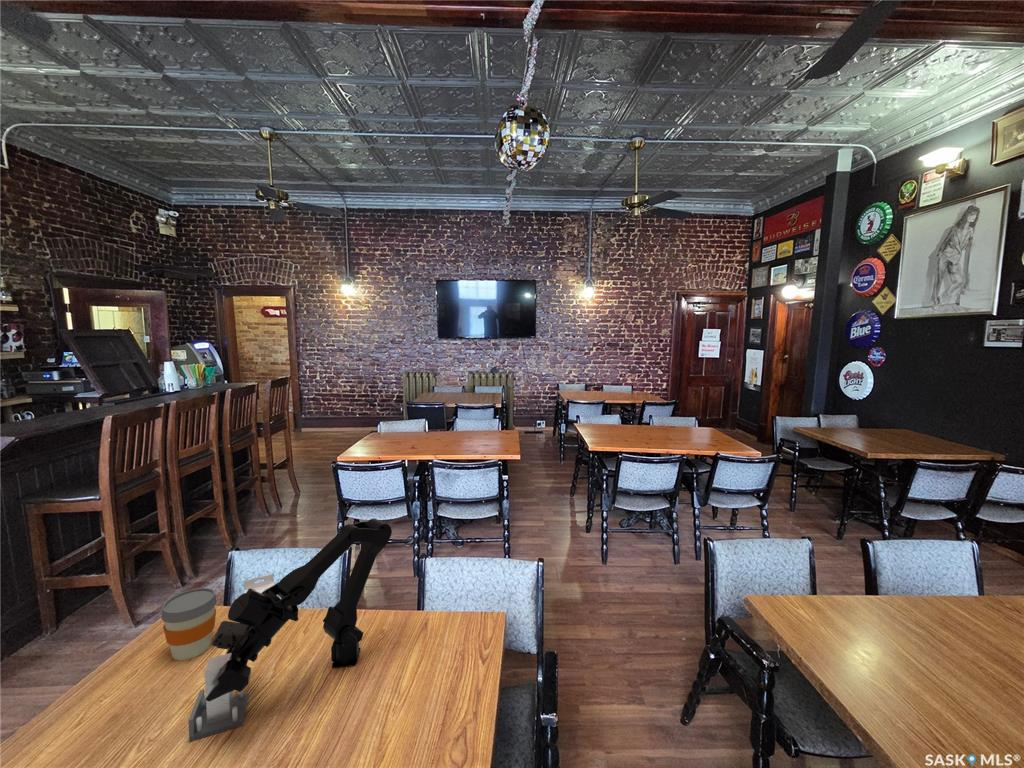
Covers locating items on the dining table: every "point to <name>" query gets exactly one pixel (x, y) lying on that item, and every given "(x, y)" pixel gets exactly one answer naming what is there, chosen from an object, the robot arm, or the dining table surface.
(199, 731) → the drive dock
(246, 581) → the ink box
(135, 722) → the dining table surface
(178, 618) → the reusable coffee cup
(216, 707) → the silver tall square block
